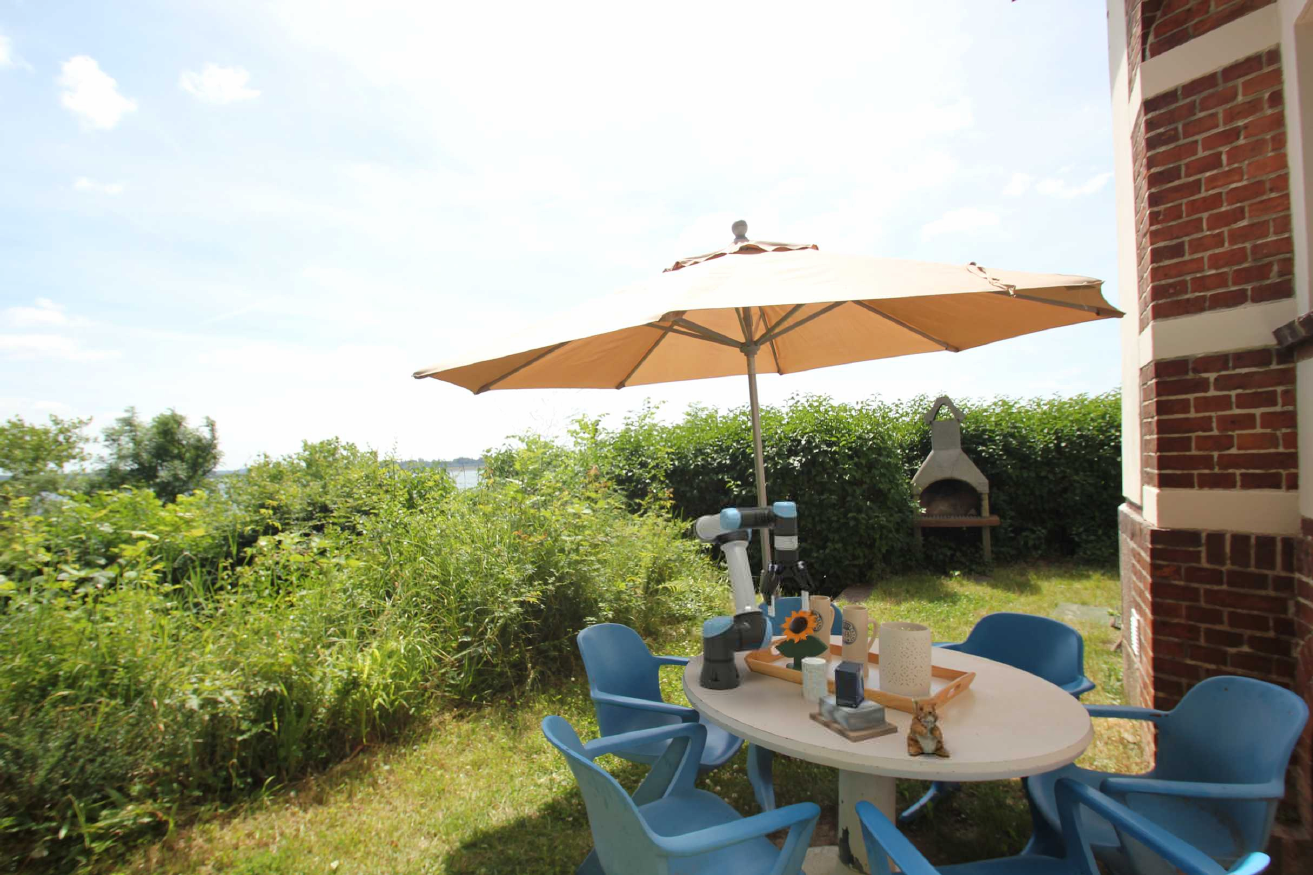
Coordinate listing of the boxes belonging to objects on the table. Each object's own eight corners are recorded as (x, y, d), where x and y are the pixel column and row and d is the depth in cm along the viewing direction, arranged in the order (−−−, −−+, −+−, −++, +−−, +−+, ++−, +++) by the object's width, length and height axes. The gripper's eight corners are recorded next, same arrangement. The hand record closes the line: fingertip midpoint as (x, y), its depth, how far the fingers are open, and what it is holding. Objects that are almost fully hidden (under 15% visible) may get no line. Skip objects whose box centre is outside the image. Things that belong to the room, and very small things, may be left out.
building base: (809, 717, 179) (808, 695, 180) (850, 708, 185) (849, 687, 186) (853, 741, 161) (851, 717, 161) (897, 731, 167) (896, 708, 167)
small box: (858, 709, 167) (855, 671, 168) (835, 705, 171) (833, 668, 172) (866, 697, 176) (863, 662, 177) (844, 694, 180) (842, 659, 181)
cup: (800, 699, 195) (798, 662, 196) (806, 691, 202) (804, 656, 204) (825, 702, 191) (823, 665, 193) (830, 694, 198) (828, 658, 200)
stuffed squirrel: (909, 757, 151) (905, 704, 152) (901, 735, 164) (898, 687, 166) (951, 760, 148) (947, 707, 149) (940, 738, 162) (936, 689, 163)
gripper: (760, 552, 184) (763, 620, 182) (823, 546, 194) (826, 611, 192) (748, 549, 191) (750, 615, 189) (809, 544, 201) (812, 606, 199)
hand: (788, 613), depth 191 cm, fingers open, 13 cm apart
